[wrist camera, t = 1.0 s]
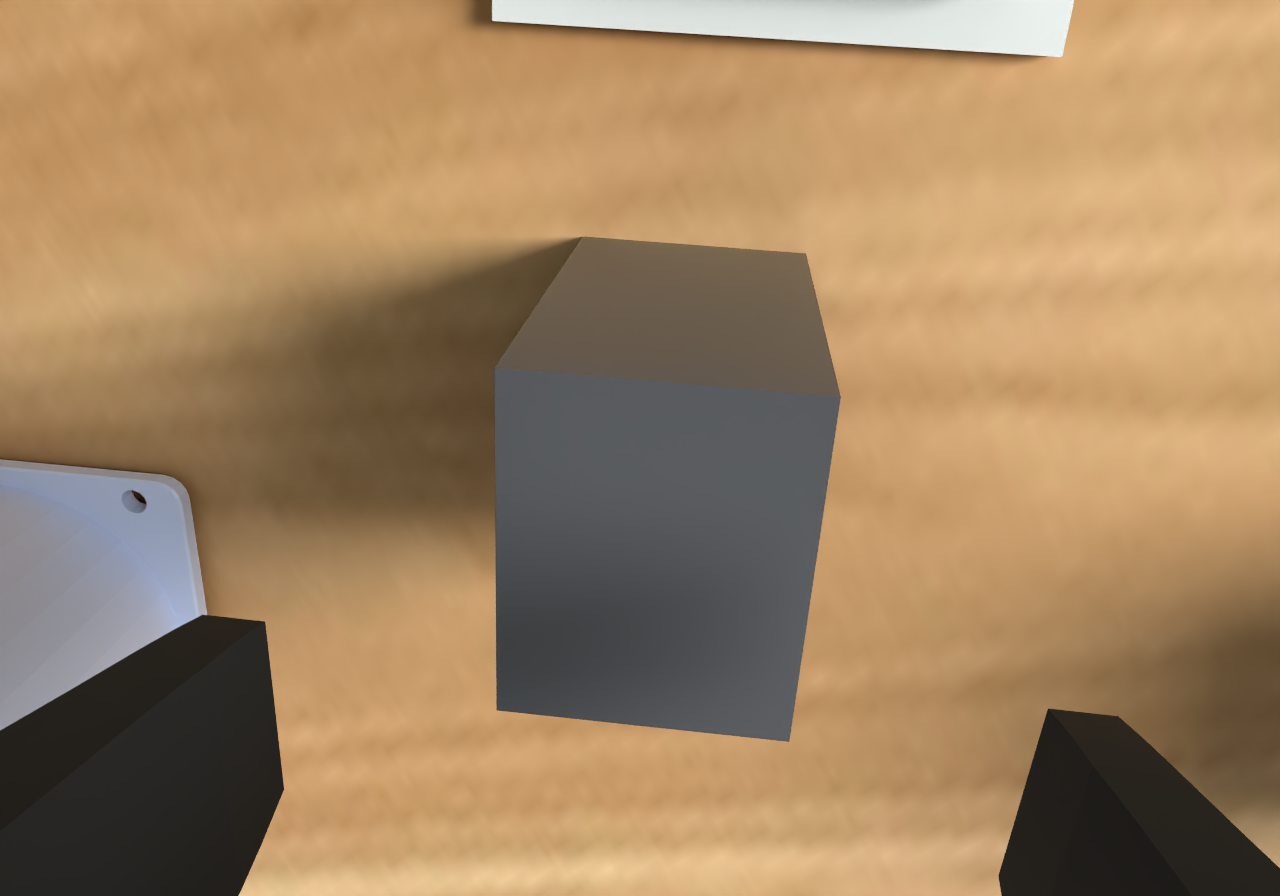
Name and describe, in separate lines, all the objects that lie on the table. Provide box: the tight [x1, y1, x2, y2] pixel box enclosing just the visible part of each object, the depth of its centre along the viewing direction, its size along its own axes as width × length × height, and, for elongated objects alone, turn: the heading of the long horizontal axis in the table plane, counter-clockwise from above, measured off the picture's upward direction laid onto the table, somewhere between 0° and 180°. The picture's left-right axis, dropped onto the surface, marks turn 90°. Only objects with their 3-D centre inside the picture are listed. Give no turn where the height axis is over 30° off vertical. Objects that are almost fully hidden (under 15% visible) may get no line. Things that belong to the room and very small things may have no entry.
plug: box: [494, 237, 841, 742], centre depth 16 cm, size 4×5×7 cm
